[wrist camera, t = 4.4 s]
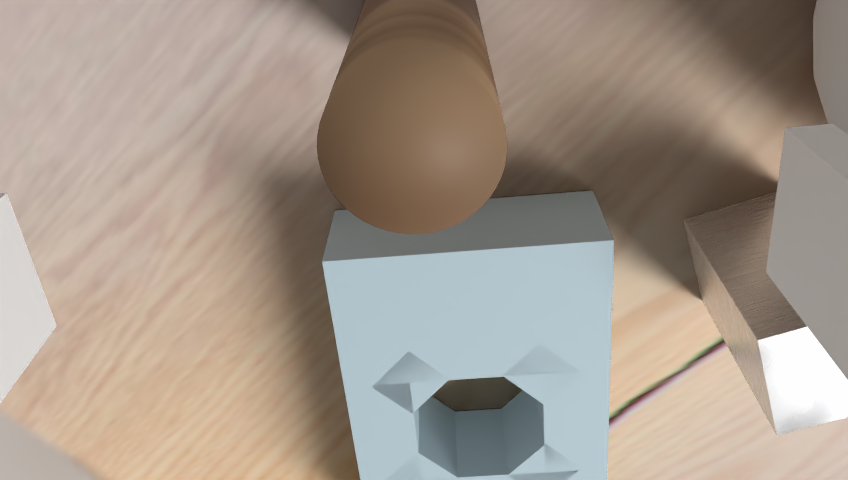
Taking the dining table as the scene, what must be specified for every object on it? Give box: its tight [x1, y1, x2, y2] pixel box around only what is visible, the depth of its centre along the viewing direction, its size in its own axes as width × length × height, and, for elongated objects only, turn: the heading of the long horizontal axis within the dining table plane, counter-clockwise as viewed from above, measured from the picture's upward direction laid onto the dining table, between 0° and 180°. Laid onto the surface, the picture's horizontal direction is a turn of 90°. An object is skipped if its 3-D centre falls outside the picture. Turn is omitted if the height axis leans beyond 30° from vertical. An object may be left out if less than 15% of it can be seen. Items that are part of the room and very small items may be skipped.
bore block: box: [322, 191, 614, 480], centre depth 32 cm, size 16×10×4 cm, turn 5°
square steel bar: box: [683, 191, 848, 435], centre depth 28 cm, size 4×4×8 cm
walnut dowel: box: [317, 0, 507, 234], centre depth 22 cm, size 4×4×12 cm
